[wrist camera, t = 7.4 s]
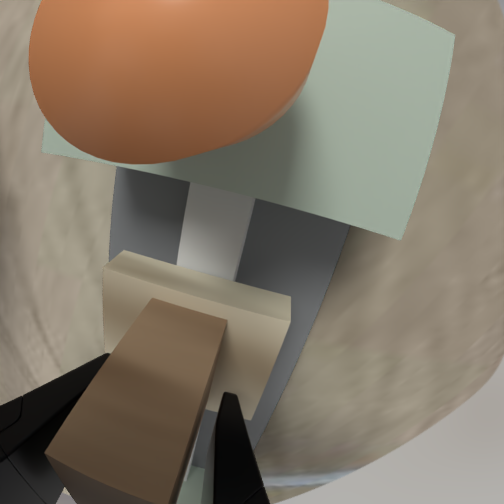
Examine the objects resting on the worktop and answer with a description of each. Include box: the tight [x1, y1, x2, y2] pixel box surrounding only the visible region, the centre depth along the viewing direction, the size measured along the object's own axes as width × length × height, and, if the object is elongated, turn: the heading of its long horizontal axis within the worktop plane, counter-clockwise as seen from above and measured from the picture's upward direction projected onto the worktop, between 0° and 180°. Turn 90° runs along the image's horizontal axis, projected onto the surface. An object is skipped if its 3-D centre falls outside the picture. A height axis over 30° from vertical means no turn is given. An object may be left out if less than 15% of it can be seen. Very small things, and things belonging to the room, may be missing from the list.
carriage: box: [45, 250, 291, 504], centre depth 8 cm, size 5×6×8 cm
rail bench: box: [42, 0, 455, 504], centre depth 13 cm, size 30×9×6 cm, turn 166°
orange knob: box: [29, 0, 329, 164], centre depth 4 cm, size 3×3×4 cm
